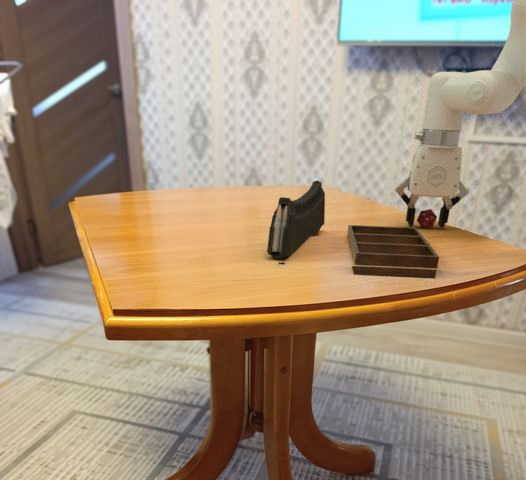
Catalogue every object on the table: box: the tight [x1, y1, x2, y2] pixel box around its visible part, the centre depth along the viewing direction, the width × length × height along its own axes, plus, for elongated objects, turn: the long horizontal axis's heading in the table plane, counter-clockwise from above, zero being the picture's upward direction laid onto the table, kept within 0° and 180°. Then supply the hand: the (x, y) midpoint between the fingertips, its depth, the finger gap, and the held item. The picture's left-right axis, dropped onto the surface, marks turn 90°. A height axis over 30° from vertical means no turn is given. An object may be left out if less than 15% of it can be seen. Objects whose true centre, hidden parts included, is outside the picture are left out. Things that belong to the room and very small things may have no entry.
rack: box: [346, 224, 440, 279], centre depth 91 cm, size 13×20×4 cm, turn 175°
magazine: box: [266, 180, 326, 266], centre depth 96 cm, size 17×3×30 cm
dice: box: [416, 208, 438, 229], centre depth 113 cm, size 4×4×4 cm
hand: (425, 225), depth 114 cm, fingers open, 6 cm apart
